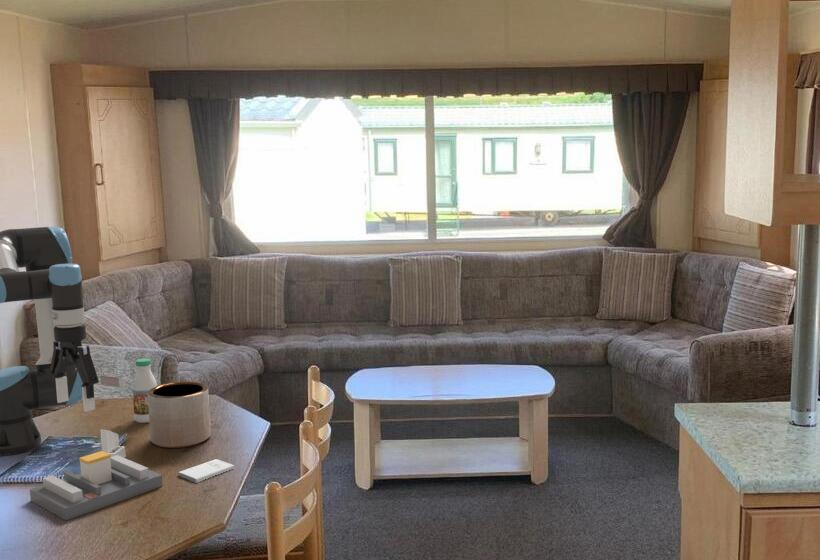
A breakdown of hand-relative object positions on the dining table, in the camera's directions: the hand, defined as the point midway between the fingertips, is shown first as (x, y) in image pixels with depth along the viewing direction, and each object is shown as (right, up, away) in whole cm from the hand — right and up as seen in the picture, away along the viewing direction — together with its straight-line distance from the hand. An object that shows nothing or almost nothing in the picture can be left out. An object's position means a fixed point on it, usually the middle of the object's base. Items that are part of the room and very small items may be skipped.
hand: (76, 406), depth 214 cm
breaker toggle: (+7, -19, -3) cm, 20 cm away
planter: (+17, -16, +37) cm, 43 cm away
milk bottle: (+1, -13, +56) cm, 57 cm away
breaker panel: (+7, -22, -3) cm, 23 cm away
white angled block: (+3, -19, +20) cm, 28 cm away
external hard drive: (+31, -20, +10) cm, 39 cm away
